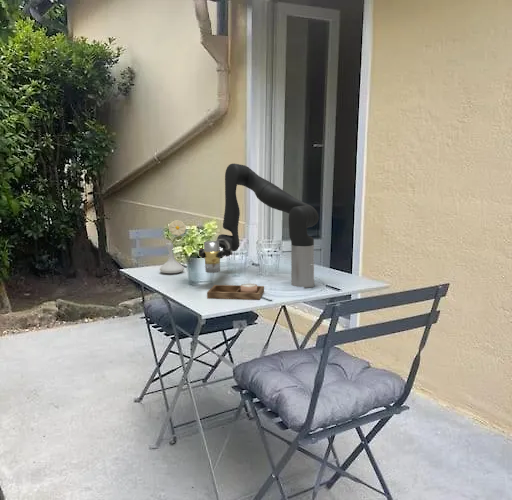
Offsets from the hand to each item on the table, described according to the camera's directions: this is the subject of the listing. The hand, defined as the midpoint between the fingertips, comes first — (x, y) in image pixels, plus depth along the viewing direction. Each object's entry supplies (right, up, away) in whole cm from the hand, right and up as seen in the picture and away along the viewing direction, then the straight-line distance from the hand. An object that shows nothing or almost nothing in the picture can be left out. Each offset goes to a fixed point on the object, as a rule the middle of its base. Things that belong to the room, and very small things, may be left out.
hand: (210, 255), depth 218 cm
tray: (+10, -16, -8) cm, 21 cm away
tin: (+1, -7, +3) cm, 7 cm away
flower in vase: (-21, -9, +38) cm, 44 cm away
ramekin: (+15, -15, -8) cm, 23 cm away
